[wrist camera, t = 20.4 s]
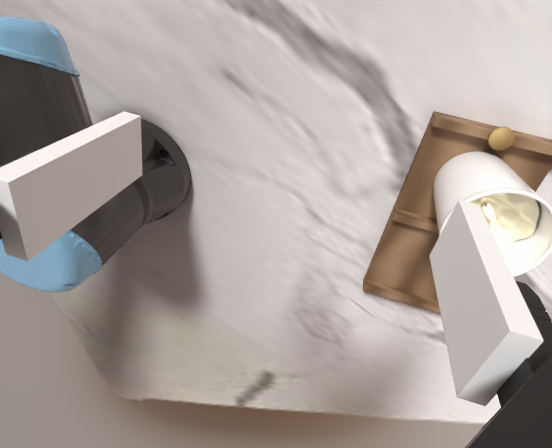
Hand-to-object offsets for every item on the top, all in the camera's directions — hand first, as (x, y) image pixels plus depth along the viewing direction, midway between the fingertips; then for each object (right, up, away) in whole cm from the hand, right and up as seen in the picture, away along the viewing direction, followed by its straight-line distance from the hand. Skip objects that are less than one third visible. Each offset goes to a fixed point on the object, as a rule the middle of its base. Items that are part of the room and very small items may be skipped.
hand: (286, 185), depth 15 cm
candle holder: (+23, +3, +29) cm, 37 cm away
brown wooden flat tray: (+22, -1, +33) cm, 40 cm away
